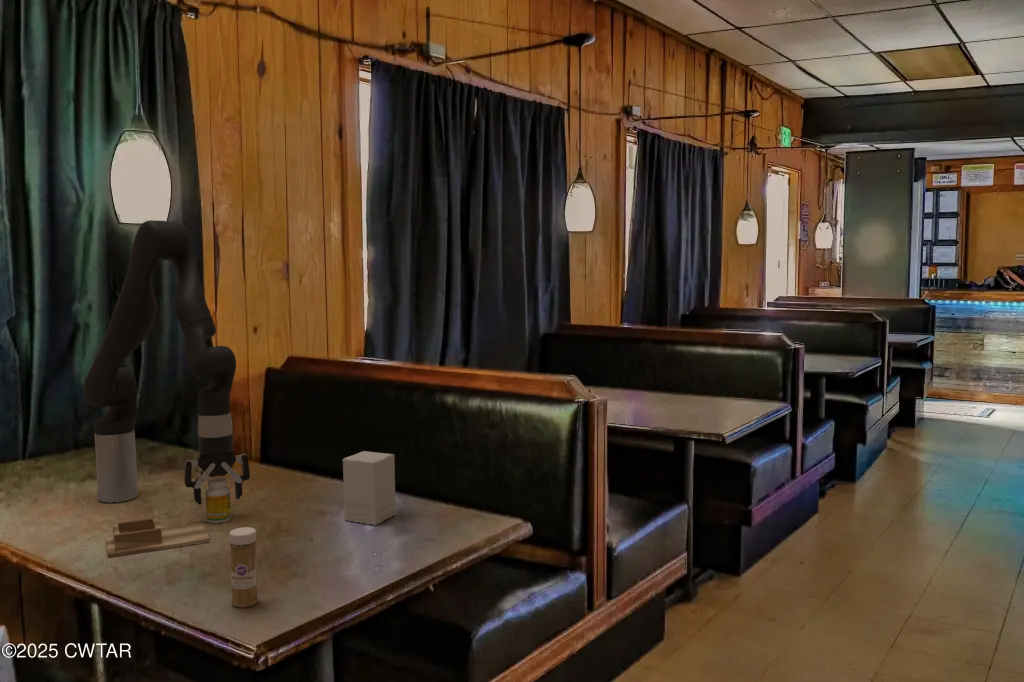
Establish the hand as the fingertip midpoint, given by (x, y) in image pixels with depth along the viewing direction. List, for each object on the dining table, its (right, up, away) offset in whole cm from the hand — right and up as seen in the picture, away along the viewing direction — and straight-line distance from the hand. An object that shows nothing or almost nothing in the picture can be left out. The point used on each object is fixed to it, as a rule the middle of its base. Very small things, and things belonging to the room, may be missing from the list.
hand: (218, 500), depth 198 cm
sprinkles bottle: (+21, -10, -46) cm, 51 cm away
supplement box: (+35, -5, +2) cm, 35 cm away
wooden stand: (-8, -6, -14) cm, 17 cm away
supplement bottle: (0, -5, +1) cm, 5 cm away
